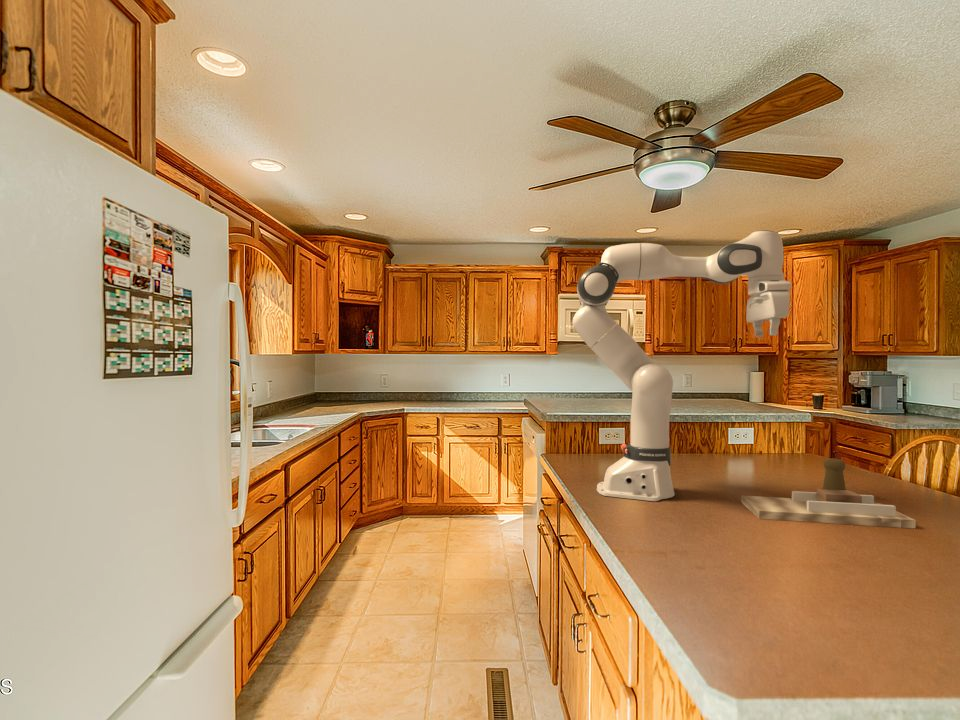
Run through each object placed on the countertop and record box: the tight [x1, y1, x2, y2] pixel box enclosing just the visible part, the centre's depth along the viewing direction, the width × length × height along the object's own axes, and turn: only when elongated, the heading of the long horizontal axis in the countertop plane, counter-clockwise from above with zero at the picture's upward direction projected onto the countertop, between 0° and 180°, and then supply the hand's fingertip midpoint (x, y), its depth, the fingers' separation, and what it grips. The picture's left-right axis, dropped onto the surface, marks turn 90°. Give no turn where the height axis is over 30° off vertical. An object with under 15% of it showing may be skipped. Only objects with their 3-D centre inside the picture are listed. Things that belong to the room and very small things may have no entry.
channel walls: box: [791, 490, 897, 517], centre depth 125 cm, size 19×10×2 cm, turn 78°
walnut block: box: [816, 488, 862, 504], centre depth 125 cm, size 8×5×4 cm, turn 78°
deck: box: [740, 495, 917, 530], centre depth 126 cm, size 34×14×2 cm, turn 78°
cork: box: [822, 458, 847, 491], centre depth 143 cm, size 6×6×11 cm
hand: (765, 336), depth 139 cm, fingers open, 8 cm apart
